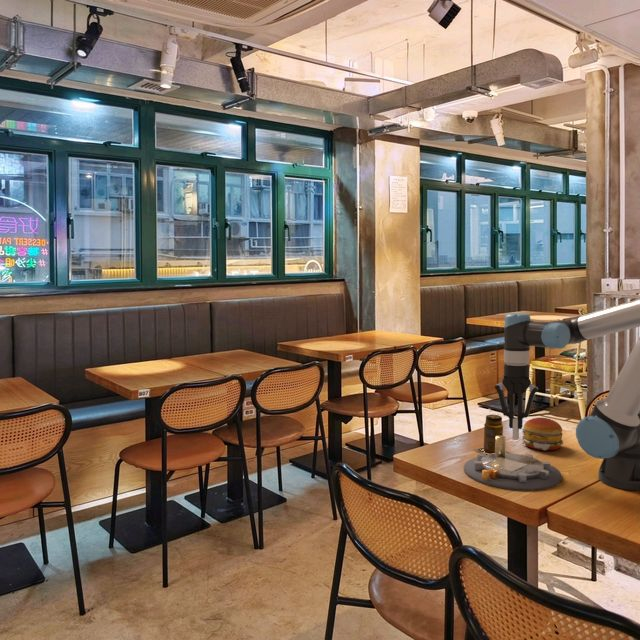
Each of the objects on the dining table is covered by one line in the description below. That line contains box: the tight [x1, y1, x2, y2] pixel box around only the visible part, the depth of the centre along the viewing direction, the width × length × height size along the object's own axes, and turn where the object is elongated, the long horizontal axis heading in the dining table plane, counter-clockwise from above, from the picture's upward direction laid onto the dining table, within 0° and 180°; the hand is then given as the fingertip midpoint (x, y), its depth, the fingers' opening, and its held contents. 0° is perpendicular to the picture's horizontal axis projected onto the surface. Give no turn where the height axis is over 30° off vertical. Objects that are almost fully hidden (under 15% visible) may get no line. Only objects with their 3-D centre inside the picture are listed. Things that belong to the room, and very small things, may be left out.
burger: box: [521, 417, 564, 451], centre depth 212 cm, size 13×14×10 cm
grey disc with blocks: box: [474, 435, 552, 482], centre depth 186 cm, size 22×22×8 cm
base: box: [463, 456, 563, 491], centre depth 186 cm, size 28×28×4 cm
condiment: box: [474, 414, 508, 455], centre depth 207 cm, size 7×8×12 cm
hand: (515, 438), depth 193 cm, fingers closed
